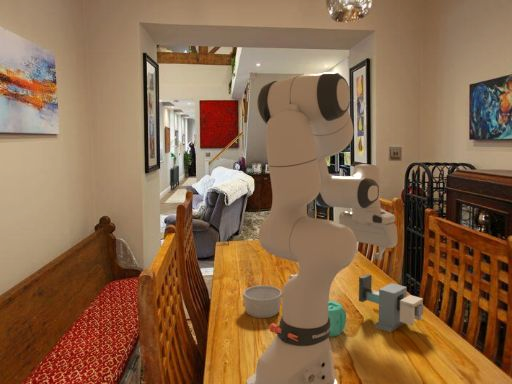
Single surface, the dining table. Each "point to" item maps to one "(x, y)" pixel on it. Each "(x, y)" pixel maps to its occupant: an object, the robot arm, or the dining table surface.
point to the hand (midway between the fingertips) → (365, 256)
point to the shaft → (373, 296)
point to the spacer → (409, 309)
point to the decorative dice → (336, 318)
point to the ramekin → (262, 301)
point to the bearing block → (390, 307)
